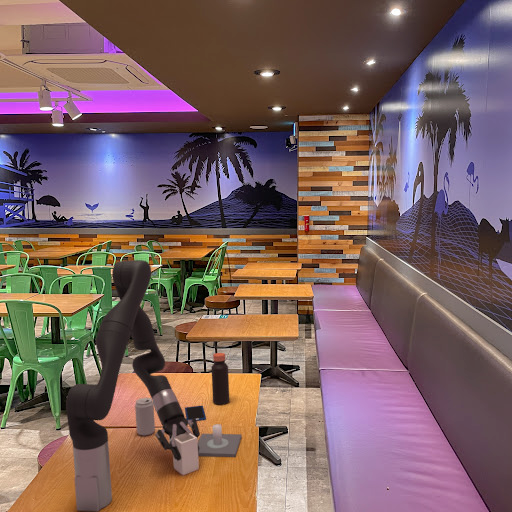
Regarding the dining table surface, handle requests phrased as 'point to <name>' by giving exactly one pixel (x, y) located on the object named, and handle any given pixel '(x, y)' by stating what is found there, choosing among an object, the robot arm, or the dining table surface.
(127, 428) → the dining table surface
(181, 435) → the sleeve
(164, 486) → the dining table surface
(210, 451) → the post plate
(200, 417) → the cell phone
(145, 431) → the beverage can
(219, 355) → the bottle
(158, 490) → the dining table surface
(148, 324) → the robot arm
